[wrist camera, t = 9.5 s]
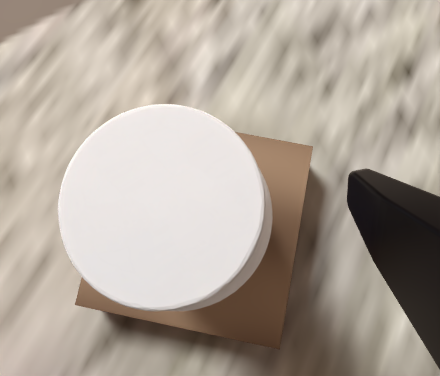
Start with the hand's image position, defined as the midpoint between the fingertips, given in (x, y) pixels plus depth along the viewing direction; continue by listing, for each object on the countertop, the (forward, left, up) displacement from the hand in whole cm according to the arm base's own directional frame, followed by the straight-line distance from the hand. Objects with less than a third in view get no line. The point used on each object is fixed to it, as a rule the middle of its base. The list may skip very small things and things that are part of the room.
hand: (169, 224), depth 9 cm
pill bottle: (0, 0, -9) cm, 9 cm away
